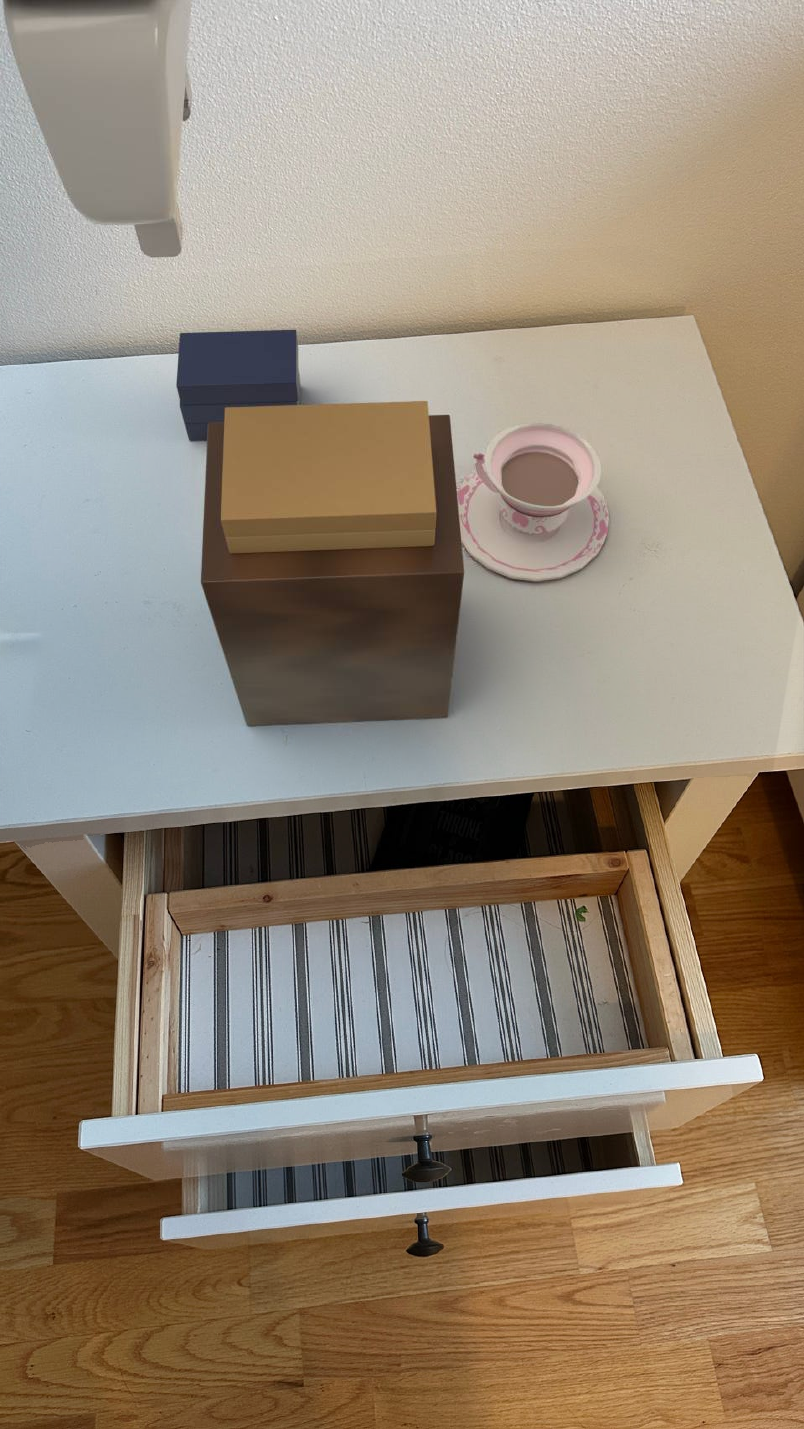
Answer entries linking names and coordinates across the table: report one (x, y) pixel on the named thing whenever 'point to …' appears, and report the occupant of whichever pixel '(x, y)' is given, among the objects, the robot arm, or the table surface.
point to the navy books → (217, 414)
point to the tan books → (328, 477)
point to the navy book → (238, 367)
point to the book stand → (338, 614)
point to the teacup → (534, 504)
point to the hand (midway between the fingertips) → (169, 176)
